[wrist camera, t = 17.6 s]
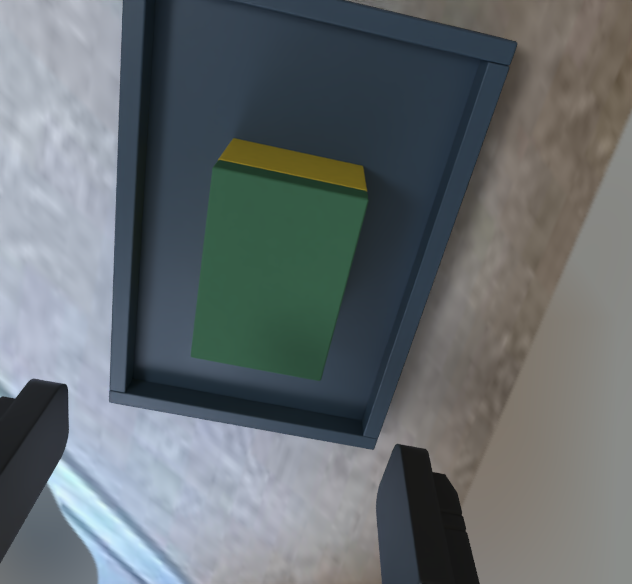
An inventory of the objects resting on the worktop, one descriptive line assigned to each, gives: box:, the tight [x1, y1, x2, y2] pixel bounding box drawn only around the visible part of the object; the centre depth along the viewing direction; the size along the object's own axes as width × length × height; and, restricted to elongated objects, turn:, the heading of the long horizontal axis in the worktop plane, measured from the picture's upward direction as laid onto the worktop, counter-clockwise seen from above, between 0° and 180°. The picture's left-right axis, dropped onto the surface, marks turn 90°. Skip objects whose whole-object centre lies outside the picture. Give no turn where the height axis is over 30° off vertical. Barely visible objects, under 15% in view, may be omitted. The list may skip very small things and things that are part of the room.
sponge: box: [191, 138, 369, 381], centre depth 22 cm, size 8×5×4 cm
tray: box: [109, 0, 517, 450], centre depth 24 cm, size 20×14×2 cm
